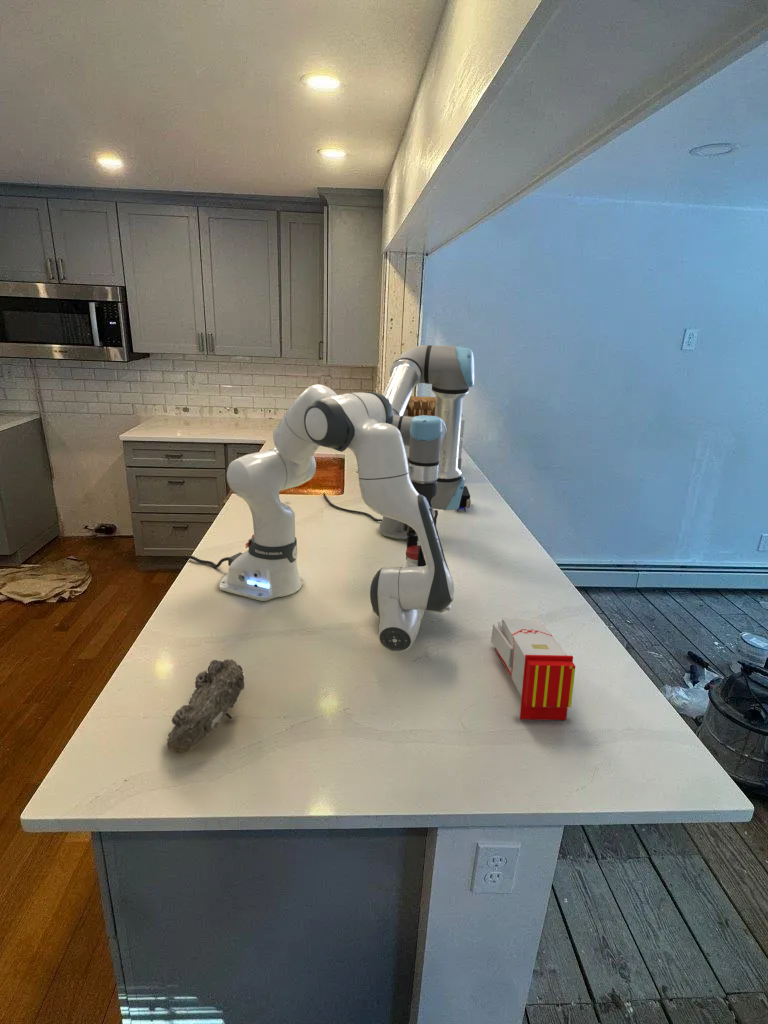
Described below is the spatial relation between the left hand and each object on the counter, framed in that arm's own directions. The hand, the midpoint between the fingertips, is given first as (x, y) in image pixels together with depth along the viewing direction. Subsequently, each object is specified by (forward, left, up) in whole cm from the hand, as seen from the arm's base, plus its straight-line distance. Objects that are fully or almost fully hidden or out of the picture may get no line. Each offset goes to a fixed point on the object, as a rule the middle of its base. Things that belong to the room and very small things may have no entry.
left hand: (415, 581), depth 151 cm
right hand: (0, -1, +5) cm, 5 cm away
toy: (+29, -26, -7) cm, 39 cm away
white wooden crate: (-18, +129, -7) cm, 130 cm away
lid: (0, -1, +9) cm, 9 cm away
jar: (0, -1, -7) cm, 7 cm away
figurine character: (+5, +84, -7) cm, 84 cm away
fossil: (-30, -55, -7) cm, 63 cm away
